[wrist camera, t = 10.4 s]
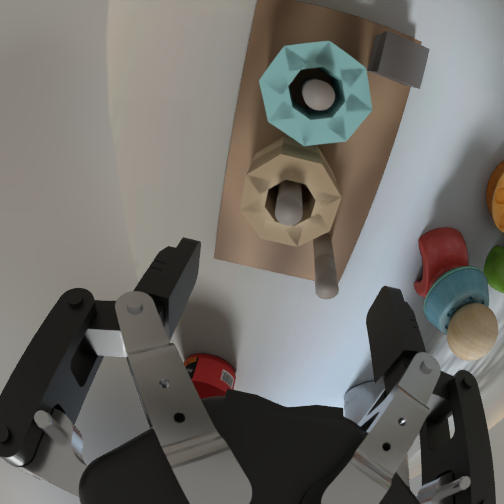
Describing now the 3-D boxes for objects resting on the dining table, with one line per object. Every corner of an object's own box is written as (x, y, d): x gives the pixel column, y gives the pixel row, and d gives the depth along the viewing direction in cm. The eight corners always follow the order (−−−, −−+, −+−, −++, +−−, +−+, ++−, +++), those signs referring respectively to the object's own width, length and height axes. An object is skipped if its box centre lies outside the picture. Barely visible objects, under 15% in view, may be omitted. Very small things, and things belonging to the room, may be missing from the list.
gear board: (414, 43, 16) (464, 37, 9) (335, 275, 29) (342, 337, 23) (261, -1, 16) (243, -33, 10) (217, 249, 29) (194, 307, 23)
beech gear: (339, 150, 21) (349, 171, 17) (318, 218, 24) (321, 252, 20) (260, 131, 21) (251, 147, 17) (246, 201, 24) (235, 233, 20)
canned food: (188, 345, 39) (165, 414, 30) (243, 363, 40) (230, 434, 31) (181, 370, 44) (161, 431, 35) (229, 386, 44) (215, 447, 35)
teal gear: (345, 45, 16) (360, 38, 12) (358, 124, 19) (375, 139, 15) (261, 56, 18) (252, 51, 14) (278, 133, 21) (273, 150, 17)
